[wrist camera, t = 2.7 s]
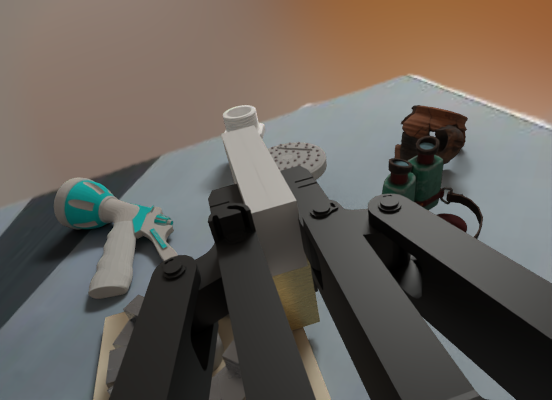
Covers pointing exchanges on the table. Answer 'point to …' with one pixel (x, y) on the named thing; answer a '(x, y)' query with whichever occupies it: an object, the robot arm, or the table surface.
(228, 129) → the pipe fitting
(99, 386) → the base
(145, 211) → the garden hose nozzle
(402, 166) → the binoculars
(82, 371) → the table surface
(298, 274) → the block ring with board
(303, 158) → the showerhead
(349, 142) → the table surface
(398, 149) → the brown leather pouch
